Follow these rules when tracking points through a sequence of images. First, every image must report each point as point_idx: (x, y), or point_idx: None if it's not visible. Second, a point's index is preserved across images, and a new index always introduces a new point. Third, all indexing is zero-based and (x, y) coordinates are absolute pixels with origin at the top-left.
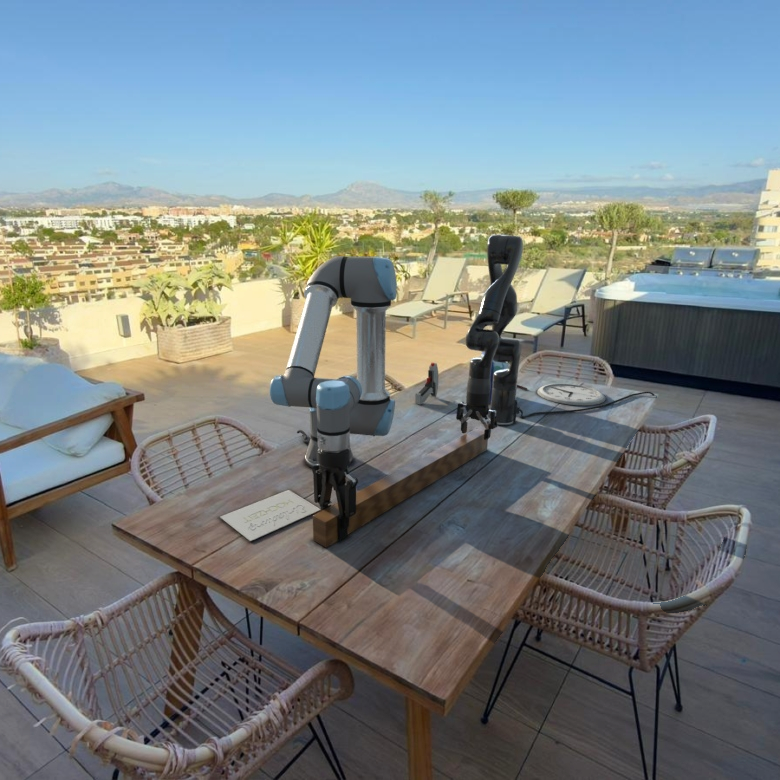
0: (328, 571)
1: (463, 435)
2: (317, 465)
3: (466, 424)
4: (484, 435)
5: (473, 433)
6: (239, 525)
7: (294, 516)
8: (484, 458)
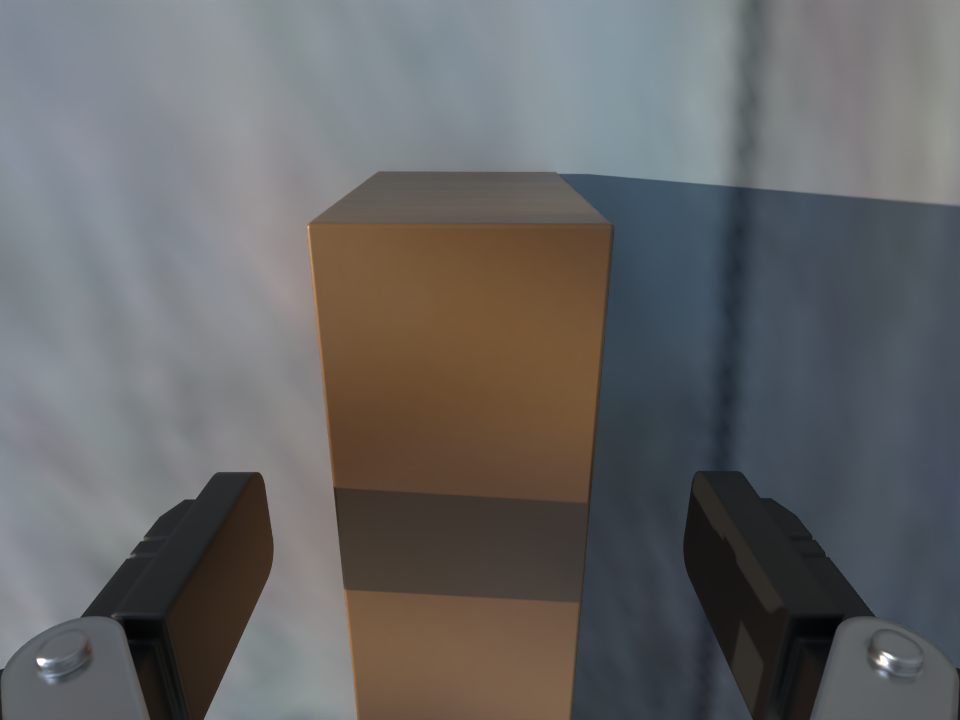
0: None
1: (360, 681)
2: None
3: (195, 604)
4: (717, 622)
5: (435, 528)
6: None
7: None
8: (640, 407)
